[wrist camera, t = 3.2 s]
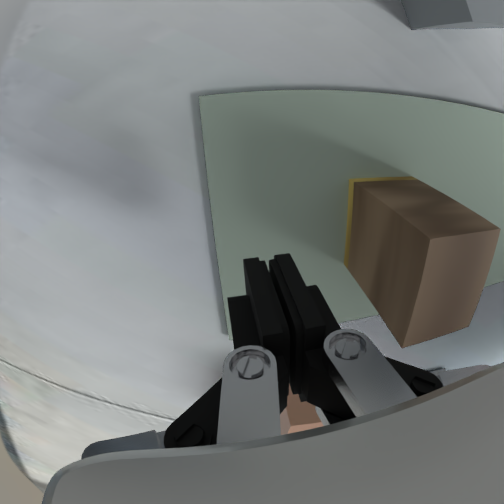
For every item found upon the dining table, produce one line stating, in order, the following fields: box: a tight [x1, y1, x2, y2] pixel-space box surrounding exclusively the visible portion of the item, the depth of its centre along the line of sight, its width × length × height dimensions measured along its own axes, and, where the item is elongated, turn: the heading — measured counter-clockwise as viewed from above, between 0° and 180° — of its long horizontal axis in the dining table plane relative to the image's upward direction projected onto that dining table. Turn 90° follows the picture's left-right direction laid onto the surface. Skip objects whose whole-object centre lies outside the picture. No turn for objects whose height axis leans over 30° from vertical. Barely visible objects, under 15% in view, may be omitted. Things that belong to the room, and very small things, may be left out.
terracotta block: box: [280, 384, 324, 435], centre depth 21 cm, size 5×5×5 cm
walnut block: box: [344, 176, 501, 348], centre depth 14 cm, size 4×5×7 cm
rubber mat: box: [199, 90, 504, 340], centre depth 17 cm, size 24×14×1 cm, turn 94°
